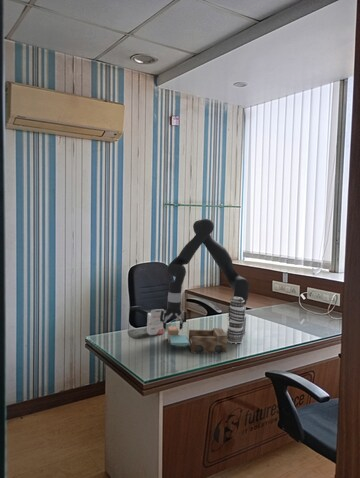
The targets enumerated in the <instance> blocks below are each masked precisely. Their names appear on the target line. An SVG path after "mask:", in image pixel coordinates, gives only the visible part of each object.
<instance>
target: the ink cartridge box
mask: <svg viewBox="0 0 360 478" xmlns="http://www.w3.org/2000/svg"><path fill="white" fill-rule="evenodd" d="M161 310H165V309H163V308H158V309H157V308H156V309H155V308H154V309H151V310H150V312H148V313H147V317H146V318H147V319H146V321H147V322H146V333H147V334H148V335H149V336H155V335H162V334H163V335H164V328H163V322H161V321H160V316H161ZM163 319H165V314H164V315H163Z"/></svg>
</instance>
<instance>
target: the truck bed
mask: <svg viewBox="0 0 360 478" xmlns="http://www.w3.org/2000/svg"><path fill="white" fill-rule="evenodd" d="M227 337H228V336H227V334H226V332H225V330H224V329H223V328H221V327H219V328H218V327H217V328H216V327H214V328H212V329H188V340H189V343H190V346H189V345H188V347H189V350H190V352H191V353H197V354H202V353H204V354H205V353H212V354H213V353H214V352H216V354H222V353H221V352H226V353H227V345H228V344H227V343H228V341H227ZM214 354H215V353H214Z"/></svg>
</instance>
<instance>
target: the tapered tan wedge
mask: <svg viewBox="0 0 360 478" xmlns="http://www.w3.org/2000/svg"><path fill="white" fill-rule="evenodd" d="M169 335H179V328H178V326H167V339H166V340H167V342H168V344H171V343H170V339H169Z"/></svg>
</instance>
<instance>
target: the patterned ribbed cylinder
mask: <svg viewBox="0 0 360 478" xmlns="http://www.w3.org/2000/svg"><path fill="white" fill-rule="evenodd" d="M232 297H233V298H232ZM232 297H231V298H232V299H231V298H230V300H229V301H230V305H229V306H228V316H227V317H228V319H227V320H228V328H227V334H226V335H227V343H229V342H230V343H229V344H232V343H235V344H234V345H238V344H237V343H241V344H242V343H243V334H244V333H242V332H243V330H242V329H243V326H242V325H243V322H244V320H243V319H244V317H243V316H244V315H245V316H246V312H245V311H244V310H243V309H244V302H245V301H244V300H243V298H241V297H234V296H232ZM244 312H245V314H244Z"/></svg>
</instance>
